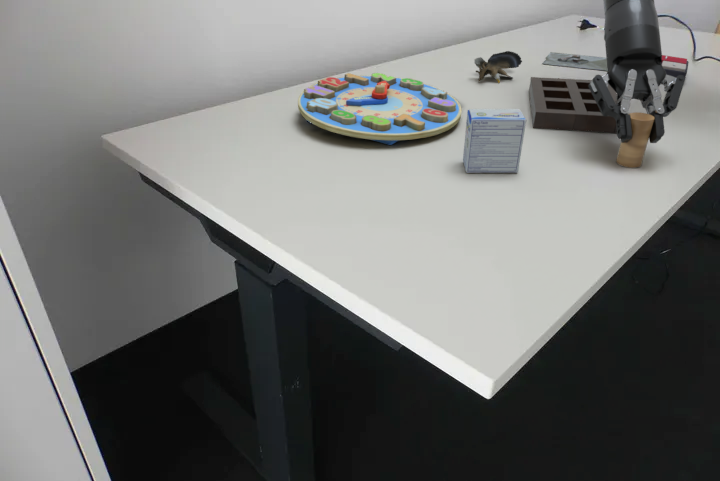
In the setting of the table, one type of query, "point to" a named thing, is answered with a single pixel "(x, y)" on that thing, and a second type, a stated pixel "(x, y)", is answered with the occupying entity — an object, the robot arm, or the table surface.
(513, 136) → the medicine box
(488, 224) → the table surface
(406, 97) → the shape sorting clock
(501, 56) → the squirrel figurine
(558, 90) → the brown grid tray
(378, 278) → the table surface
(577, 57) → the grey fossil slab
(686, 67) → the dual switch box
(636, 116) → the peg
